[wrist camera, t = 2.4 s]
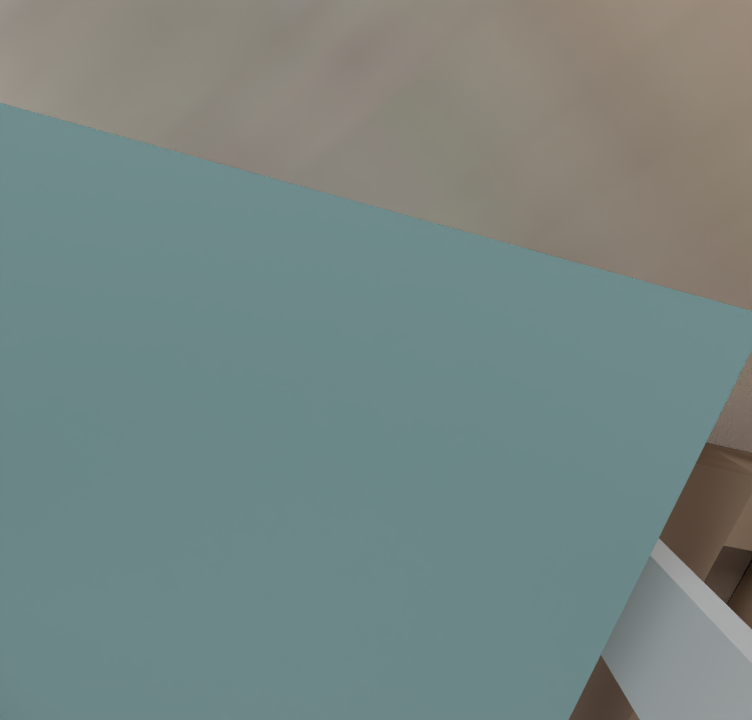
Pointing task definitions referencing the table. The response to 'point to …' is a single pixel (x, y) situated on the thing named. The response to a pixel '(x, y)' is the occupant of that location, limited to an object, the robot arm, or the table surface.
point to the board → (692, 554)
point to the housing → (317, 446)
